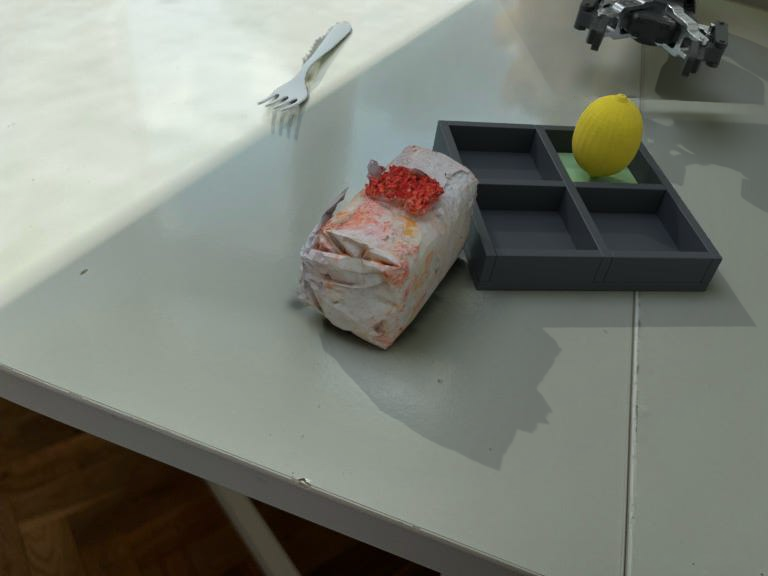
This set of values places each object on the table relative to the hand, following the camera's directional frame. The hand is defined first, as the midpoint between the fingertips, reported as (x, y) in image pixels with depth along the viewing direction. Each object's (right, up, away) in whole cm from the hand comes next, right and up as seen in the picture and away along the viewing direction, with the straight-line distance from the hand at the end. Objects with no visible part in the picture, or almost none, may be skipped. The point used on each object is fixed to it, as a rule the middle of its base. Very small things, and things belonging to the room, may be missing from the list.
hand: (642, 53), depth 72 cm
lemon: (-5, -12, -3) cm, 13 cm away
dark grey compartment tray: (-9, -15, -6) cm, 19 cm away
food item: (-24, -22, -16) cm, 36 cm away
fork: (-31, +1, +8) cm, 32 cm away
